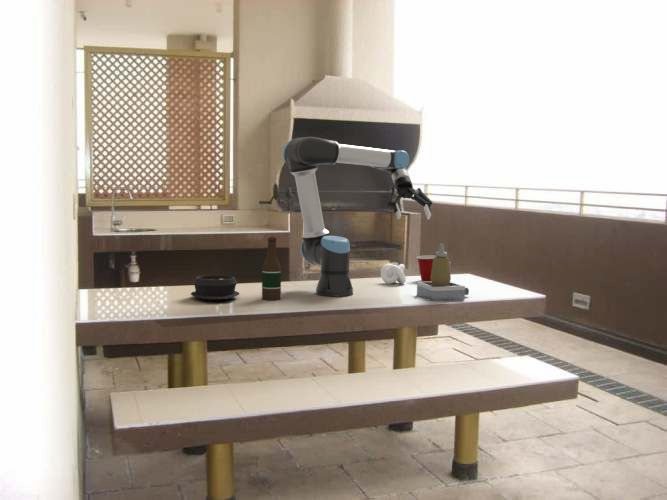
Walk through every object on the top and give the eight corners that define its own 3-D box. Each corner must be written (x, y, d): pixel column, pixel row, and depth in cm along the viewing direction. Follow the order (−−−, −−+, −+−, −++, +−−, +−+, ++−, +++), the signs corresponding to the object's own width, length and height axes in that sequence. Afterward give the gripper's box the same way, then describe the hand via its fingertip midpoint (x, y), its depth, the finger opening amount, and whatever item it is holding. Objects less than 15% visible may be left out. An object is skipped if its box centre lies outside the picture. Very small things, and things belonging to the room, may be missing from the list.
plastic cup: (412, 279, 328) (413, 254, 327) (433, 278, 331) (433, 254, 330) (420, 282, 318) (421, 256, 316) (442, 281, 320) (442, 256, 319)
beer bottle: (265, 301, 257) (266, 238, 254) (258, 297, 264) (258, 236, 261) (284, 299, 260) (285, 237, 258) (276, 296, 267) (277, 236, 265)
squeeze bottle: (450, 289, 269) (451, 244, 267) (429, 288, 270) (431, 243, 269) (450, 286, 277) (452, 242, 275) (430, 285, 278) (432, 242, 277)
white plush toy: (381, 285, 307) (382, 265, 306) (379, 281, 319) (379, 262, 318) (406, 285, 307) (407, 265, 306) (403, 281, 319) (403, 262, 318)
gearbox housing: (432, 300, 265) (432, 287, 264) (416, 294, 279) (417, 281, 278) (475, 299, 270) (476, 285, 270) (458, 293, 284) (458, 280, 284)
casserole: (243, 303, 251) (243, 281, 250) (192, 304, 246) (192, 281, 245) (235, 293, 275) (235, 272, 274) (189, 294, 270) (189, 273, 270)
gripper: (425, 188, 305) (438, 223, 292) (373, 187, 298) (384, 223, 285) (430, 176, 299) (444, 211, 286) (377, 174, 292) (389, 210, 279)
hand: (414, 217), depth 285 cm, fingers open, 13 cm apart
